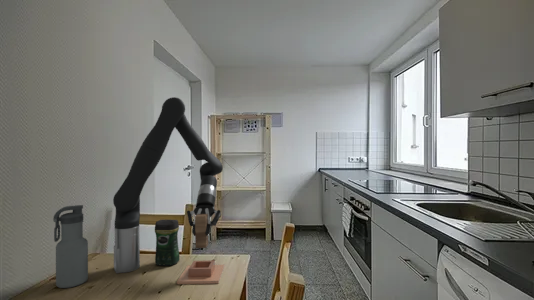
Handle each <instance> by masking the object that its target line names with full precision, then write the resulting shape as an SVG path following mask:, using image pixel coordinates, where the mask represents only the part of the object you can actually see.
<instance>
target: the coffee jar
mask: <svg viewBox="0 0 534 300" xmlns="http://www.w3.org/2000/svg"><path fill="white" fill-rule="evenodd" d="M179 225H180V224H179V221H178V219H160V220H157V221H155V224H154V233H155V237H156V238H155V239H156V240H155V257H154V263H155V265H156V266H173V265H177V264H178V263H179V262H180V251H179V248H180V247H179V240H178V238H179V237H178V236H179V235H178V232H179V229H180V226H179Z"/></svg>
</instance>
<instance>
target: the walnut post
mask: <svg viewBox="0 0 534 300" xmlns="http://www.w3.org/2000/svg"><path fill="white" fill-rule="evenodd" d="M207 217H208V214H197V215H195V216H194V220H195V233H196V235H195V236H194V237H195V240H194V242H195V249H207V247H208V245H209V235H208V236H206V234H205V232H206V226H207Z"/></svg>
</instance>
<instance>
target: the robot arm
mask: <svg viewBox="0 0 534 300" xmlns="http://www.w3.org/2000/svg"><path fill="white" fill-rule="evenodd" d="M185 112H186V105H185V103H184V101H183V100H182V99H181V98H179V97H176V96H175V97H169V98H167V99H166V100H164V102H163V104H162V105H161V111H160V114H159V116H158V118H157V120H156V122H155V124H154V126H152V128H151V130H150V131H149V133H148V134H147V135H146V137H145V139H144V140H143V142H142V144H141V146H140V147H139V149H138V150H137V153H136V156H135V157H134V160H133V162H132V164H131V167H130V170H129V172H128V174H127V175H126V178H125V179H124V180H123V182H122V184H121V186H120V187H119V188H118V190H117V191H116V192H115V194H114V196H113V200H112V201H113V206H114V207H115V218H114V245H113V270H114V272H115V273H116V274H119V273H122V274H123V273H129V272H133V271H136V270H138V269H139V268H140V267H141V265H140V264H141V261H140V260H141V255H140V254H141V253H140V248H141V247H140V218H141V210H140V209H141V194H142V191H143V188H144V186H145V184H146V183H147V181H148V179H149V177H150V176H151V175H152V173H153V172H154V171H155V169H156V168H157V166H158V164H159V162H160V161H161V159H162V157H163V155H164V153H165V150H166V148H167V146H168V143H169V140H170V138H171V136H172V133H173V131H174V130H175V129H176V130H177V132H178V133H179V135H180V137H182V139H183V141H184V143H185V144H186V146H187V147H188V149H189V150H190V152H191V154H192V155H193V157H194V159H195V160H196V161H206V162H205V163H203V164H201V166H200V168H199V175H200V176H199V178H200V186H199V190H198V193H197V198H196V203H195V208H194V209H193V210H187V211H186V215H187V219H188V224H189V226H190V227H192V230H191V232H192V233H191V234H192V235H193V237H195V235H196V233H195V219H194V220H193V217H194V214H195V216H196V215H197V214H208V217H207V226H206V232H205V234H206V236H208V237H209V234H210V233H211V228H212V227H213V226H215V227H216V226H217V224H218V222H219V220H220V218H221V216H222V212H221V210H220V209H218V210H217V209H216V210H215V205H216V199H217V186H218V179H217V177H216V175H219V174H220V173H222V172H223V164H222V163H223V162H221V160H220V159H219V158H217V157H216V156H215V155H214V154H213V153H212V152H211V151H210V149H208V147H207V145H206V144H205V142H204V140H203V139H202V138H201V136H200V134H198V133H197V131H196V130H195V129H194V128H193V127H192V125H191V124H190V122H189V120H188V118H187V116H186V114H185ZM213 215H214V217H213ZM211 217H213V218H212V220H211Z"/></svg>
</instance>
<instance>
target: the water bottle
mask: <svg viewBox="0 0 534 300" xmlns="http://www.w3.org/2000/svg"><path fill="white" fill-rule="evenodd" d="M83 209H84V205H83V204H78V205H77V204H75V205H67V206H63V207H61V208H60V209H58V210H56V212H55V213H54V215H53V219H52V220H53V222H54V223H55V225H54V226H55V227H54V229H53V241H54V242H55V243H56V246H55V285H56V287H58V288H60V289H70V288H74V287H77V286H81V285H82V284H84V283H86V282H87V281H88V278H89V241H88V240H87V239H86V238H85V237H84V234H83V233H84V230H83V229H84V227H83V226H84V225H83V224H84V223H83V222H84V213H83ZM66 211H67V212H68V211H70V212H68V213H67V212H66ZM63 212H64V213H63ZM65 212H66V213H65ZM62 213H63V214H62ZM61 214H62V215H61ZM60 239H61V240H60ZM57 242H58V243H57Z"/></svg>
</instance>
